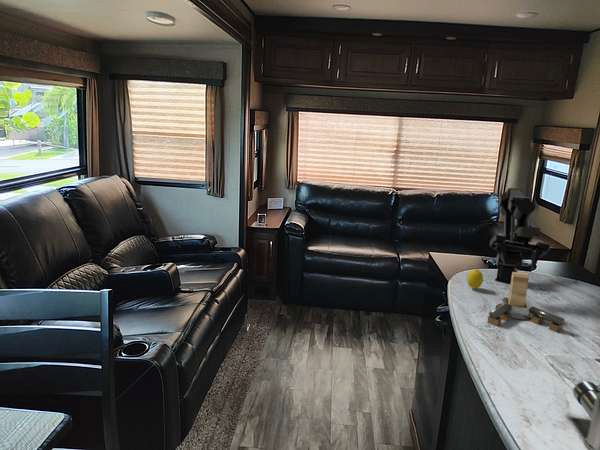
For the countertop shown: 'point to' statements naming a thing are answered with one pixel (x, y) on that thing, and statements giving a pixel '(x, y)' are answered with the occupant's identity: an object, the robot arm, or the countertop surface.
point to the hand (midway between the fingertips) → (518, 267)
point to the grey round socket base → (517, 310)
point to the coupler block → (518, 289)
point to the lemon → (475, 278)
